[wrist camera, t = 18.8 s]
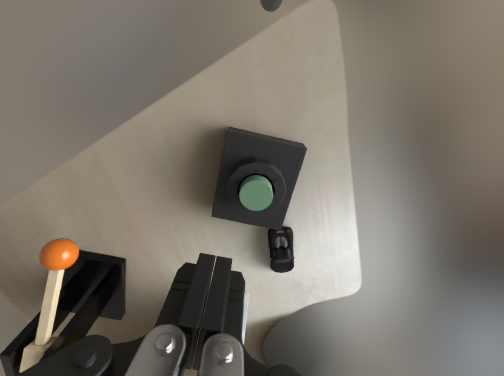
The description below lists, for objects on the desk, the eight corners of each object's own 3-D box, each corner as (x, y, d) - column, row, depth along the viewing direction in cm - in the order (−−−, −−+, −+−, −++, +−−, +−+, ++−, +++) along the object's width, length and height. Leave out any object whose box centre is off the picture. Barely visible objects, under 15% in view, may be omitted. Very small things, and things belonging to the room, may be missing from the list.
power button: (243, 171, 27) (242, 177, 25) (275, 178, 27) (276, 184, 25) (237, 200, 28) (236, 207, 27) (267, 206, 28) (268, 213, 27)
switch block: (229, 126, 28) (224, 133, 25) (303, 143, 29) (310, 153, 25) (214, 207, 33) (208, 224, 29) (279, 221, 33) (281, 238, 30)
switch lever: (58, 232, 30) (33, 239, 26) (88, 238, 30) (68, 246, 27) (34, 352, 30) (7, 375, 27) (64, 357, 30) (41, 380, 27)
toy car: (293, 267, 37) (295, 278, 35) (270, 269, 37) (271, 279, 35) (291, 222, 33) (294, 231, 31) (266, 223, 34) (267, 232, 32)
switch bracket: (63, 247, 36) (-30, 328, 24) (125, 258, 36) (64, 343, 25) (70, 304, 41) (-6, 395, 29) (125, 313, 41) (72, 406, 30)
